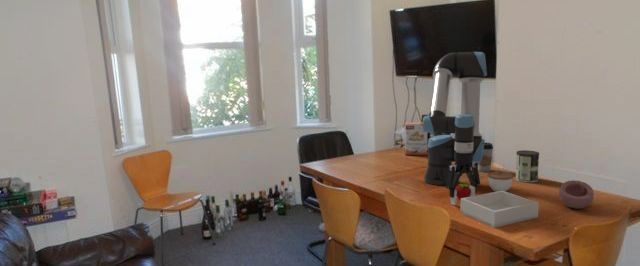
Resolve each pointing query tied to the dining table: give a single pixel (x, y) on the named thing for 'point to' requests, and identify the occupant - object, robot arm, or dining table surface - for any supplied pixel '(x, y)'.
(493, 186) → the lidded jar
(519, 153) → the coffee can
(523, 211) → the bin
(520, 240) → the dining table surface
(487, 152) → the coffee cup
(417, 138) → the cracker box
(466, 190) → the strawberry
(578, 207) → the mortar and pestle
